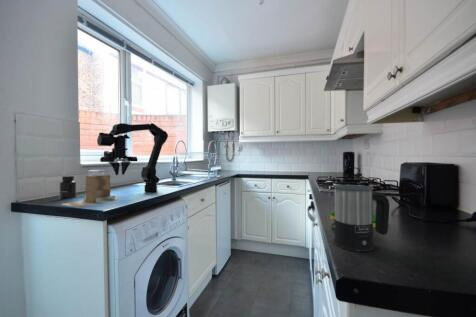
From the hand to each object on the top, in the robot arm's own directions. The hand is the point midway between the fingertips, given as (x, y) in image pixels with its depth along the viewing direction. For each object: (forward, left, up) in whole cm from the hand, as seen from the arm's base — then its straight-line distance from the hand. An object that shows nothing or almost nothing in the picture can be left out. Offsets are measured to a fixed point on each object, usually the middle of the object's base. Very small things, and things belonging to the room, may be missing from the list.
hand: (120, 174), depth 121 cm
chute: (+6, +17, -12) cm, 22 cm away
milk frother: (-82, +77, -12) cm, 114 cm away
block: (+5, +15, -11) cm, 19 cm away
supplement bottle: (+24, +3, -12) cm, 27 cm away
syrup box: (+15, -8, -12) cm, 21 cm away
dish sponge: (-96, +63, -13) cm, 115 cm away
